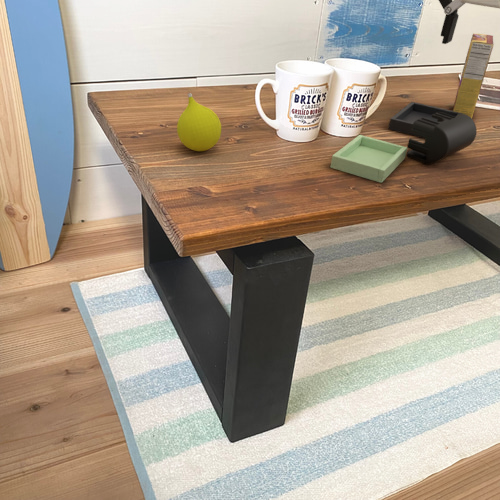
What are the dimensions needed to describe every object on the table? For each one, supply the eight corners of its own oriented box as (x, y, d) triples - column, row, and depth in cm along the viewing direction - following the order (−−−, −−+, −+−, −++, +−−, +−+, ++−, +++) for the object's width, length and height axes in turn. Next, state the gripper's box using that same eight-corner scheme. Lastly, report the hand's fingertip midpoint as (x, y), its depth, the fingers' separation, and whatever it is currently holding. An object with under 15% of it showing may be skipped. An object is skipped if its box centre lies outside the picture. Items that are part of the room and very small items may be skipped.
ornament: (177, 140, 87) (176, 81, 81) (219, 141, 87) (221, 82, 82) (176, 158, 81) (175, 95, 75) (221, 158, 82) (223, 96, 76)
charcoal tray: (460, 123, 103) (463, 113, 102) (443, 143, 94) (446, 132, 92) (409, 111, 108) (411, 101, 106) (387, 129, 98) (390, 118, 97)
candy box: (451, 106, 112) (473, 32, 104) (472, 109, 111) (495, 35, 103) (449, 118, 105) (471, 40, 97) (470, 122, 104) (495, 43, 96)
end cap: (440, 171, 83) (452, 131, 79) (403, 156, 87) (412, 118, 83) (469, 156, 89) (482, 119, 85) (433, 143, 93) (443, 107, 89)
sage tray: (404, 158, 86) (407, 147, 85) (381, 183, 78) (384, 170, 77) (357, 145, 90) (359, 134, 89) (330, 167, 81) (332, 155, 80)
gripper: (595, -81, 66) (543, 55, 76) (461, -92, 73) (429, 34, 83) (592, -83, 61) (536, 65, 71) (447, -94, 68) (414, 41, 78)
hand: (478, 48), depth 77 cm, fingers open, 9 cm apart
